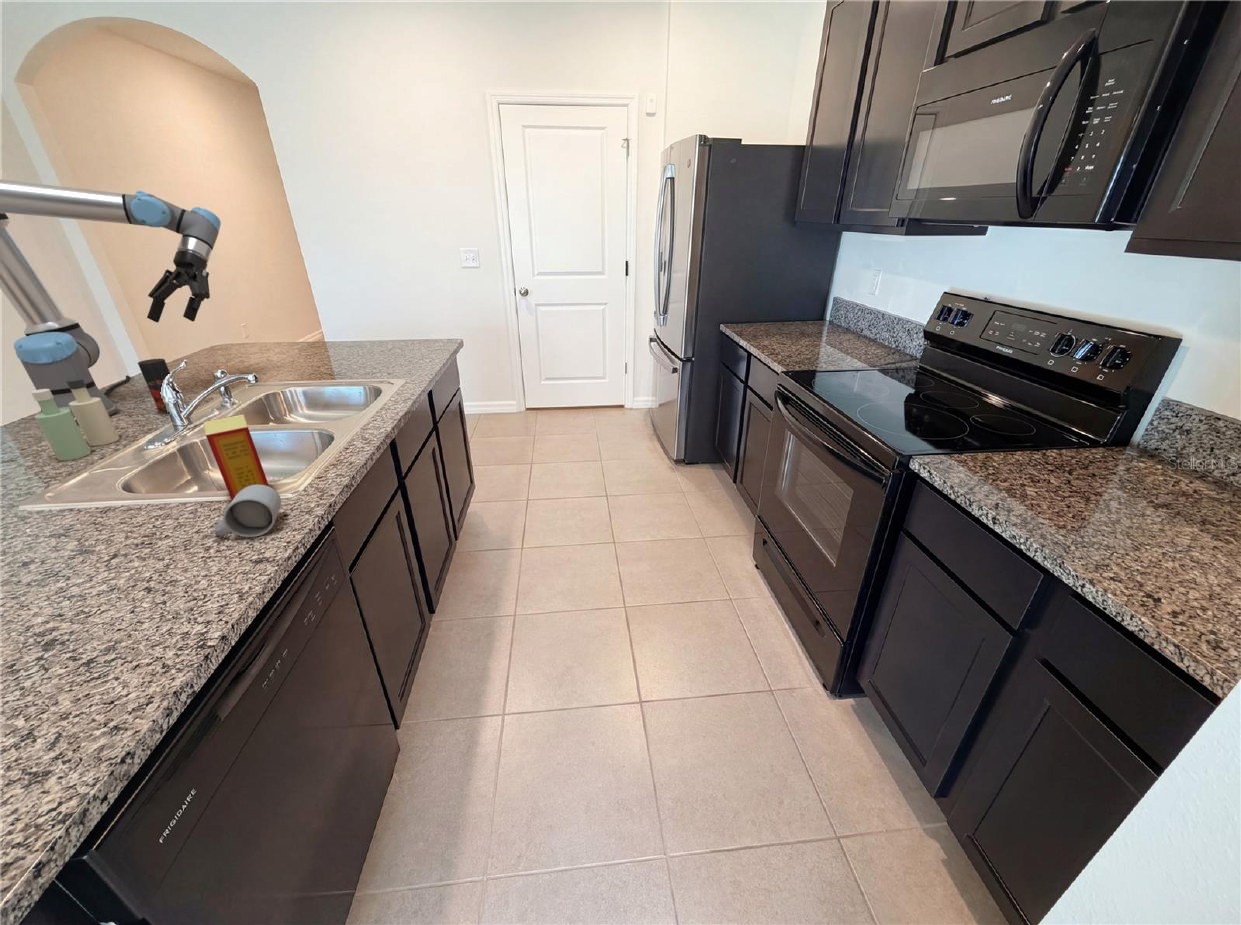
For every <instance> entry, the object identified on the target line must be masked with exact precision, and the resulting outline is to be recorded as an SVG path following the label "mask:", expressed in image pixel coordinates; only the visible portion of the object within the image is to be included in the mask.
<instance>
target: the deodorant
mask: <svg viewBox="0 0 1241 925" xmlns="http://www.w3.org/2000/svg"><path fill="white" fill-rule="evenodd" d="M137 365H138V367H139V369H140V372H141V374H142V377H143V379H144V382H145V383H146V385H147V386H146V387H147V388H148V390H149V392H150V395H151V397H152V399H153V402H154V404H155V406H156V409H157V410H158V411H157V412H158V413H159V414H161V415H168V414H169V413H168V412H167V410H166V405H165V404H164V402H163V399H162V398H161V394H160V392H161V387H162V383H163V380H164V379H165V377H166V376H167V375H168V374H171V372H170V370H169V367H168V365H167V362H166V359H165V358H150V359H145V360H141V361H138V362H137ZM173 382H174V383H175V381H174V380H173Z"/></svg>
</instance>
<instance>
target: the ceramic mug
mask: <svg viewBox="0 0 1241 925" xmlns="http://www.w3.org/2000/svg"><path fill="white" fill-rule="evenodd" d="M281 506H282V500H281V496H280V494H279V492H277V491H276V489H274V488H272V487H271V486H270V485H269V486H266V485H251V486H248V487H246V488H244V489H243V490H241V491H240V492H239V493H238V494H237V495H236V496H235V498H234V499H233V500H231V502H229V503H228V505H227V506H226V508H225V509H224V512H223V516H222V520H220V521H219V522H218V523H217V524H216V525H215V526H214V528H213V531H214V533H215V534H216V535H218V536H219V537H224V536H227V535H228V534H229V535H230V534H231V533H233V535H236V536H240V537H243V538H255V537H260V536H263V535H265V534H267V533H268V532H269V531H270V530H271V529H273V527H274V525H275V523H276V520H277V517H278V515H279V512H280V510H281Z"/></svg>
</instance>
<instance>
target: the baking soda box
mask: <svg viewBox="0 0 1241 925" xmlns="http://www.w3.org/2000/svg"><path fill="white" fill-rule="evenodd" d="M203 426H204V432H205V437H206V440H207V442H208V444H209V447H210V450H211V452H212V454H213V458H214V460H215V462H216V464H217V467H218V470H219V472H220V475H221V477H222V479H223V482H224V485H225V487H226V489H227V492H228V494H229V497H230V499H231V501H232V500H233V499H234V498H235V496H236V495H237V494H238V493H239V492H240V491H241V490H243V489H244V488H246V487H248V486H251V485H266V486H269V487H270V484H269V482H268V479H267V476H266V473H265V471H264V468H263V465H262V462H261V459H260V457H259V453H258V452H257V448H256V446H255V443H254V440H253V437H252V434H251V431H250V429H249V426H248V423H247V421H246V417H245V415H244V413H240V414H236V415H235V414H234V415H231V416H230V415H229V416H225V417H220V418H215V419H210V420H204V421H203Z"/></svg>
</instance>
